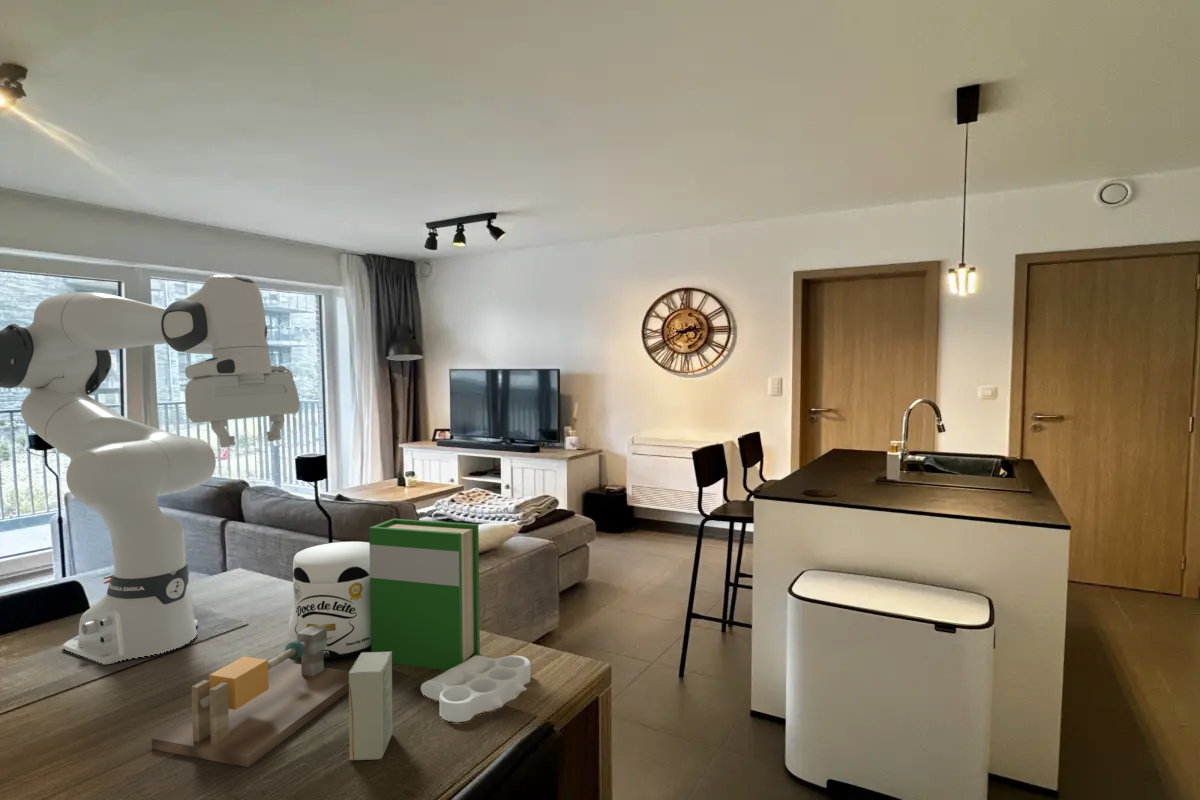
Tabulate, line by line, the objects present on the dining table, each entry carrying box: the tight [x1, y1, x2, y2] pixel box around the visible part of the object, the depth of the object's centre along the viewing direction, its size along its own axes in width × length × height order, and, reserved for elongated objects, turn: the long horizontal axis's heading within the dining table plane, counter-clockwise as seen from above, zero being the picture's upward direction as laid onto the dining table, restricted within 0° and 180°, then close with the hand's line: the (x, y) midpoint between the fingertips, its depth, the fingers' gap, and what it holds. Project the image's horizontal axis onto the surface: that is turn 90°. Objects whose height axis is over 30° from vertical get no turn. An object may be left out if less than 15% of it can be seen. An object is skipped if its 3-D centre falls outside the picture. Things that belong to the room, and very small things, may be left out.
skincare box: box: [348, 651, 393, 761], centre depth 87 cm, size 6×4×12 cm
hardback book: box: [368, 518, 481, 671], centre depth 115 cm, size 18×7×24 cm, turn 74°
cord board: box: [151, 626, 350, 768], centre depth 96 cm, size 16×24×9 cm, turn 165°
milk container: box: [288, 541, 371, 659], centre depth 120 cm, size 17×17×18 cm
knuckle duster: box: [420, 655, 531, 722], centre depth 102 cm, size 3×18×15 cm
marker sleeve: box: [208, 656, 269, 710], centre depth 91 cm, size 4×6×4 cm
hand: (252, 443), depth 113 cm, fingers open, 8 cm apart
